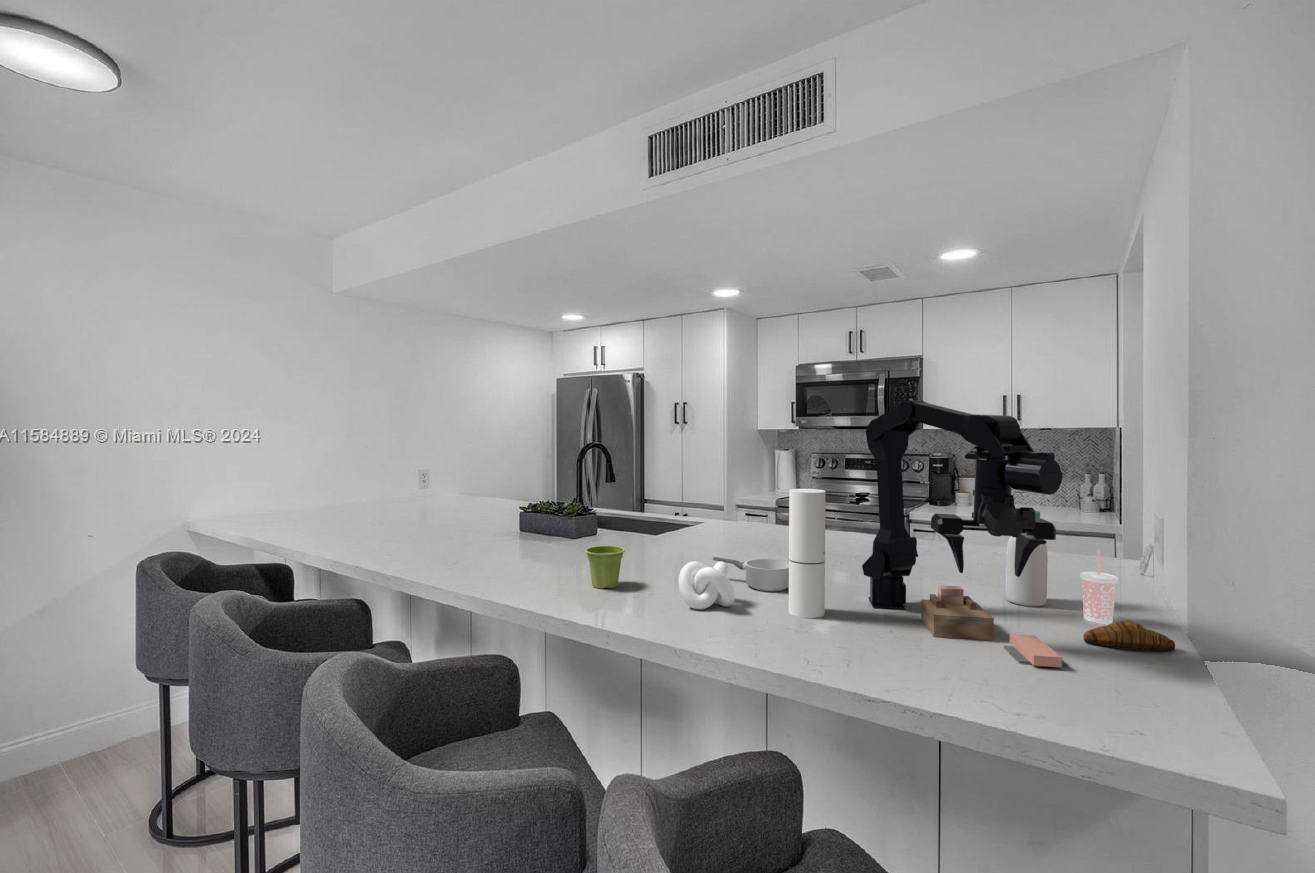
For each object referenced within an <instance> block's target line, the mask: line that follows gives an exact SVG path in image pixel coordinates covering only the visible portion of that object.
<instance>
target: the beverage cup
mask: <svg viewBox="0 0 1315 873" xmlns="http://www.w3.org/2000/svg"><path fill="white" fill-rule="evenodd" d="M1101 551H1102V549H1097V565H1096V566H1097V570H1096V571H1082V572H1079V578H1080V579H1081V591H1082V595H1081V596H1082V609H1083V619H1084V618H1085V619H1086V620H1088V621H1092V622H1096V623H1100V624H1099V625H1104V624H1105V625H1104V626H1107V625H1109V624H1111V623H1114V620H1113V619H1114V610H1115V601H1116V589H1117V583H1118V582H1119V581H1118V580H1119V577H1118V576H1116V575H1114V574H1111V573H1110V574H1109V573H1106V572H1101V555H1102V553H1101ZM1086 620H1085V621H1086ZM1088 621H1087V622H1088ZM1096 623H1095V624H1096Z"/></svg>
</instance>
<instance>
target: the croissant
mask: <svg viewBox="0 0 1315 873" xmlns="http://www.w3.org/2000/svg"><path fill="white" fill-rule="evenodd" d="M1082 637H1083V642H1084V643H1087V644H1091V645H1095V646H1098V647H1106V648H1113V649H1121V650H1128V651H1134V652H1138V651H1139V652H1170V651H1175V649H1176V644H1175V641H1174V640H1173V639H1171V638H1170V637H1168V636H1166V635H1164V634H1162V633H1160V632H1158V631H1155V630H1152V629H1148V628H1146V627H1145V626H1143V625H1142V624H1139V623H1137V622H1134V621H1133V620H1130V619H1127V620H1120V621H1115V622H1114V621H1113V622H1112V623H1111V624H1108V625H1101V626H1098V627H1094V628H1090V629H1089V630H1087V631H1085V632H1084V633H1083V635H1082Z"/></svg>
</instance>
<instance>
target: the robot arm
mask: <svg viewBox="0 0 1315 873" xmlns="http://www.w3.org/2000/svg"><path fill="white" fill-rule="evenodd" d="M920 424H923V425H927V426H930V427H934V428H937V429H941V430H944V431H948V432H951V433H955V434H957V435H959V436H961V437H962V438H963V440H965V441H966V442H968V443H969V444H972V445H974V447H973V448H972V449H971V450H970V451H969V452H967V453H966V454H965V455H964V459H966V460H974V461H975V468H974V469H975V473H974V489H972V496H973V511H971V519H963V518H962V517H961V516H958V515H957V514H954V513H937V512H935V513H934V514H933V515H932V516H931V518H930V528H931V529H932V530H933V531H934V532H936V533H937V534H940V535H941V536H942V537H943V538H944V539H946V540H947V542H948V545H949V547H950V549H951V552H952V554H953V558H954V562H955V564H956V566H957V570H958V572H959V573H960V574H963V573H964V566H965V565H964V542H965V537H964V536H963V535H962V532H963V531H976V532H977V531H979V532H987V533H988V534H990V535H991V536H993V537H1003V536H1004V537H1011V536H1012V537H1016V547H1015V565H1014V567H1015V575H1016V576H1017V577H1020V575H1021V573H1022V571H1023V569H1024V567H1025V565H1026V563H1027V561H1028V559H1029V557H1030V555H1031V553H1032V552H1033V550H1034V549H1035V548H1036V547H1038V546H1039V545H1040V544H1046V545H1047V543H1048V541H1055V540H1056V538H1057V529H1056V526H1055V525H1054V523H1052V522H1051V521H1048V520H1046V519H1043V518H1041V517H1040V518H1035V510H1036V509H1034V507H1030V506H1029V507H1025V506H1022V507H1020V508H1018V507H1017V508H1016V505H1015V498H1014V497H1015V496H1014V494H1012V489H1013V490H1015V491H1021V492H1027V493H1034V494H1040V495H1041V494H1042V495H1047V496H1052V495H1054V494H1055V493H1057V491H1059V489H1060V487H1061V485H1062V482H1063V475H1064V474H1063V472H1062V470H1061V466H1060V464H1059V463H1058V462H1057V461H1056V460H1055V457H1056V456H1055V453H1054V452H1049V451H1045V452H1044V451H1043V452H1042V451H1041V452H1037V451H1036V452H1035V450H1034V449H1033V448H1032V446H1031V445H1030V443H1029V442H1028V440H1027V438H1026V437H1025V435H1024V434H1023V432H1022V429H1021V425H1020V424H1019V421H1018V419H1016V417H1013V416H1011V415H1002V414H1001V415H1000V414H999V415H997V414H975V413H974V414H973V413H969V412H965V411H961V410H956V409H953V408H949V407H945V406H941V405H936V404H933V403H928V402H926V401H925V400H919V399H918V400H915V399H913V400H912V399H911V400H910V399H909V400H907V399H906V400H904V401H902V402H901V403H900V404H898V405H897V406H896V407H893V409H889V411H886V412H884V413H882V414H881V415H879V416H878V417H877V418H873V419H871V421H870V422H869V424H867V425H866V428H865V437H866V443H867V447H868V448H867V449H868V451H870V454H871V455H872V456H873V458H874V459H875V462H876V477H877V478H876V479H877V499H878V500H877V501H878V515H879V517H878V518H879V529H878V532H877V534H876V536H875V538H874V540H873V542H872V554H871V555H870V556H869V557H868V558H867V559H866V560H865V561H864V562H863V564H862V565H861V567H862V569H861V570H862V571H863V572H862V573H863V575H864V576H865V577H868V578H869V579H870V580H869V581H870V582H869V587H870V588H869V596H868V597H867V598H868V601H869V603H870V605H871V607H872V608H877V609H897V610H905V609H906V606H905V605H906V604H907V585H906V584H905V582H904V577H910V575H911V572H912V569H913V567H914V566H915V565H916V563H917V558H918V557H919V554H918V550H917V549H918V547H917V545H918V539H917V537H916V536H911V535H910V533H909V532H908V530H906V524H905V522H906V521H905V508H904V507H905V502H904V486H903V485H904V484H903V469H902V460H903V458H904V457H905V456H904V455H905V453H906V452H907V450H908V448H909V438H910V436H911V435H912V434H914V433H915V432H917V431H918V429H919V427H920ZM1043 539H1044V540H1043Z"/></svg>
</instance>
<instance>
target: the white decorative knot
mask: <svg viewBox="0 0 1315 873" xmlns="http://www.w3.org/2000/svg"><path fill="white" fill-rule="evenodd" d="M728 572H729V565H728V563H726V562H723V561H717V562H716V563H715V564H714V565H713V567H711V566H707V565H705V564H704V563H701V562H700V561H695V560H694V561H693V560H692V561H690V562H688V563H686V564H685V565H684V566H683V567H682V568H681V570H680V572H679V576H678V589H679V593H680V595H681V598H682V599H683V601H684V603H686V605H687V606H688V607H690V608H691V609H694V610H697V611H701V610H706V609H708V608H709V607H711V606H712V605H714V603H715V602H716V604H718V605H720V606H721V607H724V608H726V607H730V606H732V605H733V604H734V602H735V600H736V594H735V589H734V588H733V586H732V583H731V581H730V580H729V579H728V578H727V575H728Z"/></svg>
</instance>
